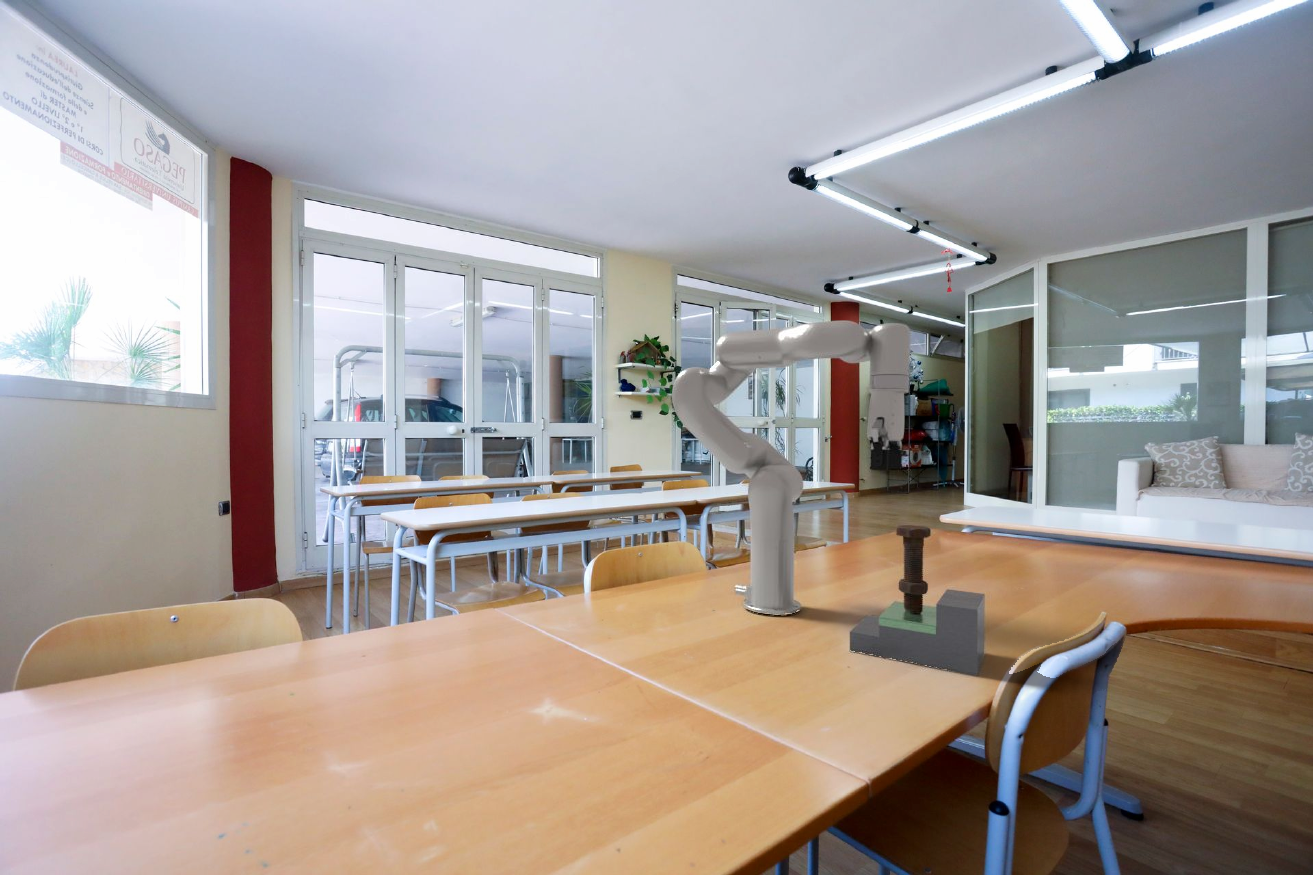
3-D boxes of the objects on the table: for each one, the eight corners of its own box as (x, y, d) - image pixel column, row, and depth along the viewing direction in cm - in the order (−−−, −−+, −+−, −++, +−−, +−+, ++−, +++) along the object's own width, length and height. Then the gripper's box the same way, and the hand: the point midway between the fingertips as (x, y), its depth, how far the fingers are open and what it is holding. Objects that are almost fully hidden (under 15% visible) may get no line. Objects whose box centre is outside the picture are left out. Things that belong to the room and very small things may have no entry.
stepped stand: (849, 651, 107) (849, 592, 107) (867, 633, 117) (867, 578, 117) (977, 676, 96) (977, 610, 96) (984, 653, 106) (984, 593, 106)
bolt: (925, 608, 109) (925, 525, 109) (935, 616, 104) (935, 529, 104) (892, 607, 110) (892, 524, 110) (900, 615, 105) (900, 528, 105)
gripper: (882, 389, 133) (880, 467, 133) (856, 382, 119) (853, 469, 119) (919, 388, 128) (916, 469, 128) (896, 381, 114) (893, 472, 114)
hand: (886, 469), depth 124 cm, fingers open, 9 cm apart
